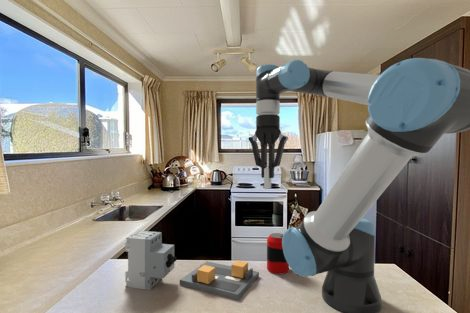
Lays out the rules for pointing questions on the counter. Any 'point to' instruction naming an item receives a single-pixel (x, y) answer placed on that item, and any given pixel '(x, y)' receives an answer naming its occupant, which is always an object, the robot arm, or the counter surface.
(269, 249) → the soda can
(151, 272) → the circuit breaker
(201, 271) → the tab
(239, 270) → the tab
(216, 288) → the switch board
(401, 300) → the counter surface
